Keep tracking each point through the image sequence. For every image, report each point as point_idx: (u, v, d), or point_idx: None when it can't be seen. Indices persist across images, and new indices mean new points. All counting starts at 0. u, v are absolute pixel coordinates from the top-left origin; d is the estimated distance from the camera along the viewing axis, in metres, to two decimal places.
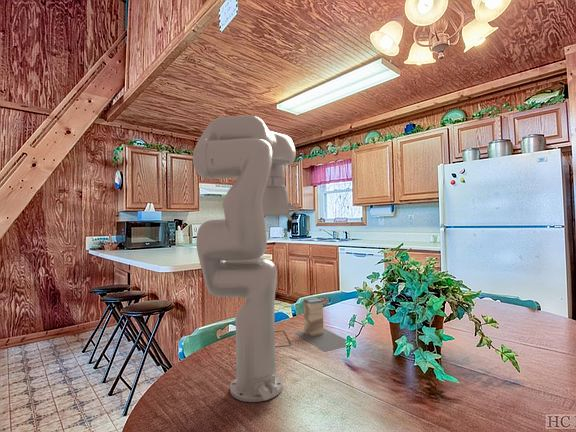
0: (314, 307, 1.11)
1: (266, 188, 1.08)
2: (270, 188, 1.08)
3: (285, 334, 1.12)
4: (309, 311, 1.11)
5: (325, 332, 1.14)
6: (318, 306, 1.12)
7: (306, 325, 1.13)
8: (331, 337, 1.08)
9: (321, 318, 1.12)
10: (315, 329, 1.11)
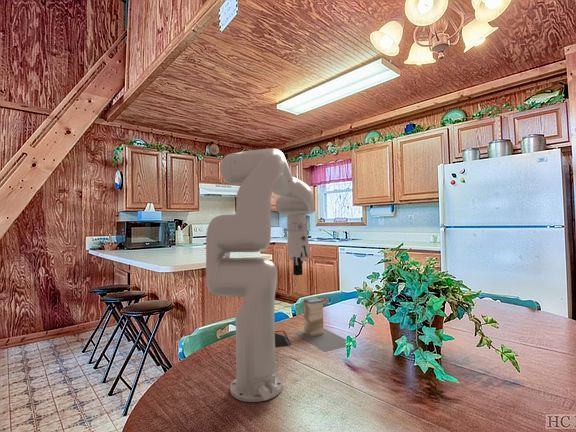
0: (314, 307, 1.11)
1: None
2: None
3: (285, 334, 1.12)
4: (309, 311, 1.11)
5: (325, 332, 1.14)
6: (318, 306, 1.12)
7: (306, 325, 1.13)
8: (331, 337, 1.08)
9: (321, 318, 1.12)
10: (315, 329, 1.11)
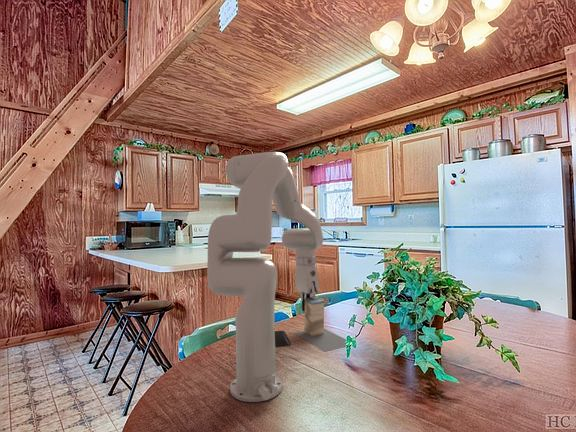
0: (315, 308, 1.10)
1: None
2: None
3: (285, 334, 1.12)
4: (310, 311, 1.10)
5: (325, 332, 1.14)
6: (319, 307, 1.11)
7: (307, 324, 1.13)
8: (331, 337, 1.08)
9: (322, 318, 1.12)
10: (315, 329, 1.11)
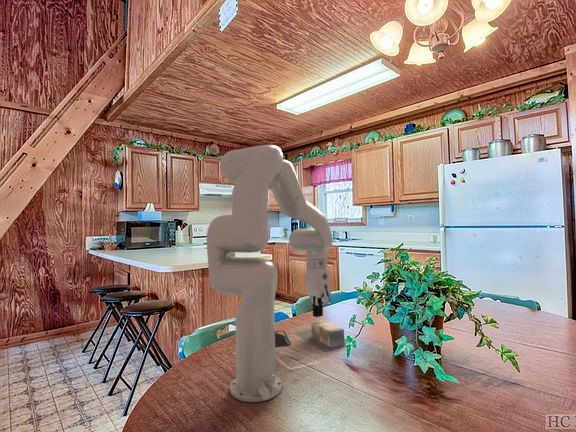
0: None
1: None
2: None
3: (285, 334, 1.12)
4: (325, 341, 1.02)
5: None
6: None
7: (316, 329, 1.07)
8: None
9: None
10: None
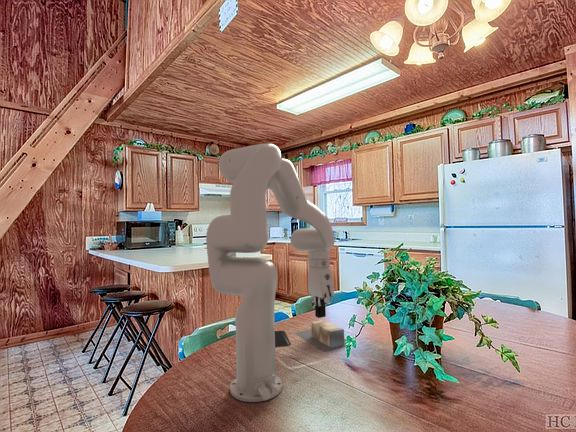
0: None
1: None
2: None
3: (285, 334, 1.12)
4: (325, 341, 1.02)
5: None
6: None
7: (316, 329, 1.07)
8: None
9: None
10: None
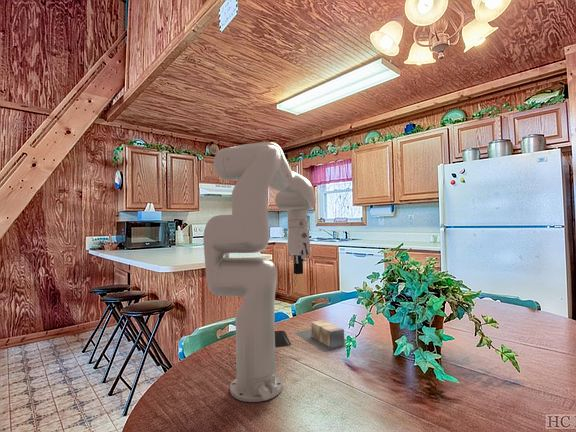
0: None
1: None
2: None
3: (285, 334, 1.12)
4: (325, 341, 1.02)
5: None
6: None
7: (316, 329, 1.07)
8: None
9: None
10: None
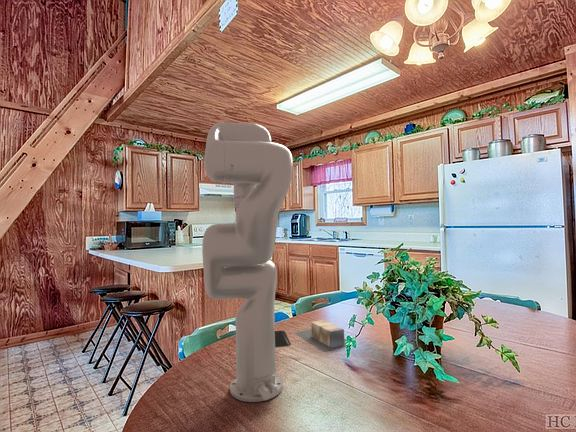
0: None
1: None
2: None
3: (285, 334, 1.12)
4: (325, 341, 1.02)
5: None
6: None
7: (316, 329, 1.07)
8: None
9: None
10: None
